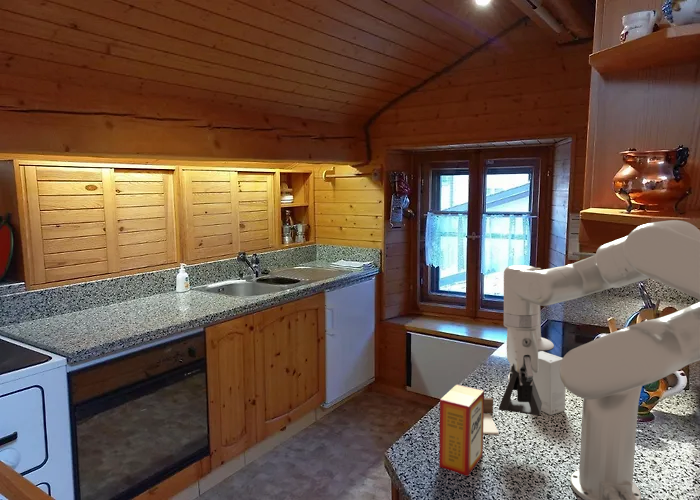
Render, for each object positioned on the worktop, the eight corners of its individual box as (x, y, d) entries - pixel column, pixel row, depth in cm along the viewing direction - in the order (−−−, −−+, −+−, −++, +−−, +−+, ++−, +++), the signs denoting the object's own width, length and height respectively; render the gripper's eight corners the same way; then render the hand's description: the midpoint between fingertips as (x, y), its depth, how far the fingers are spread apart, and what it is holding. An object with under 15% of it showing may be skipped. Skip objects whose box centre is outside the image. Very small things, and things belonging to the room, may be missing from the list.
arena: (503, 436, 121) (504, 420, 121) (462, 435, 122) (462, 420, 121) (492, 411, 134) (492, 397, 134) (454, 411, 135) (455, 397, 134)
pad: (498, 434, 122) (498, 432, 122) (469, 433, 123) (469, 432, 123) (489, 415, 132) (489, 413, 132) (463, 414, 133) (463, 413, 133)
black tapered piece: (542, 405, 116) (542, 355, 115) (540, 415, 110) (540, 364, 109) (502, 399, 120) (502, 351, 118) (498, 409, 114) (498, 359, 113)
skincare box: (565, 411, 134) (567, 358, 132) (549, 416, 131) (551, 362, 129) (541, 399, 141) (543, 349, 139) (525, 404, 138) (527, 353, 136)
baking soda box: (455, 447, 117) (456, 382, 114) (482, 455, 113) (484, 389, 111) (439, 466, 109) (439, 397, 107) (467, 476, 105) (469, 405, 103)
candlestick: (542, 353, 179) (545, 271, 175) (511, 344, 188) (513, 267, 184) (560, 345, 187) (563, 267, 183) (529, 337, 197) (531, 263, 192)
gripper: (550, 329, 104) (549, 411, 106) (526, 310, 121) (526, 381, 123) (514, 330, 104) (513, 411, 106) (495, 311, 122) (495, 381, 124)
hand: (520, 394), depth 115 cm, fingers closed on black tapered piece, 6 cm apart
